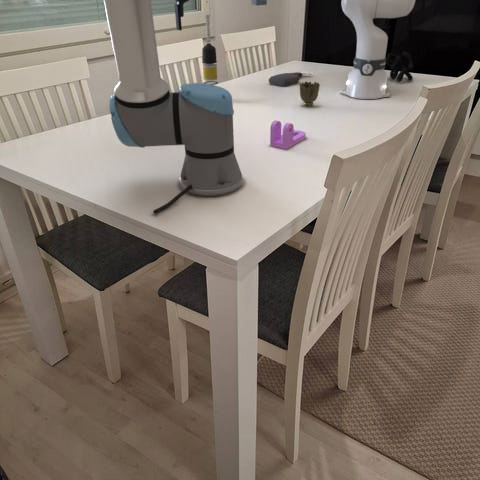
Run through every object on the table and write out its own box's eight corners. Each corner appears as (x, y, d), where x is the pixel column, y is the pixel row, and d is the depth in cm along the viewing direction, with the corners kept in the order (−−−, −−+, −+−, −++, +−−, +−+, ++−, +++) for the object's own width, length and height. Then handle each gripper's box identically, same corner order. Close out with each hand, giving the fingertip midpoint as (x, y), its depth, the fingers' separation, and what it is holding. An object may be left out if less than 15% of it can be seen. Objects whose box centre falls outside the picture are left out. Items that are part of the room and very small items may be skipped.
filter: (220, 99, 177) (217, 15, 161) (206, 100, 176) (202, 16, 160) (215, 96, 182) (212, 14, 166) (202, 97, 180) (197, 14, 164)
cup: (295, 106, 166) (296, 84, 162) (302, 102, 172) (303, 80, 168) (314, 109, 163) (316, 86, 159) (321, 104, 169) (322, 82, 165)
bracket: (286, 149, 129) (287, 125, 125) (270, 145, 132) (270, 122, 128) (308, 136, 138) (309, 114, 134) (292, 133, 141) (294, 111, 137)
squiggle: (400, 92, 202) (376, 71, 205) (417, 76, 202) (392, 56, 205) (405, 81, 191) (380, 59, 194) (423, 64, 191) (397, 42, 194)
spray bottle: (266, 83, 198) (296, 74, 214) (286, 87, 192) (316, 77, 208) (266, 76, 197) (297, 68, 213) (287, 80, 191) (316, 71, 207)
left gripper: (187, -58, 123) (193, 27, 134) (95, -58, 115) (109, 33, 126) (196, -59, 117) (201, 29, 128) (100, -59, 109) (114, 36, 120)
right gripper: (281, -47, 162) (279, -4, 170) (229, -46, 155) (230, -1, 163) (289, -48, 157) (288, -3, 165) (236, -47, 150) (237, 0, 158)
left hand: (156, 31), depth 127 cm, fingers open, 13 cm apart
